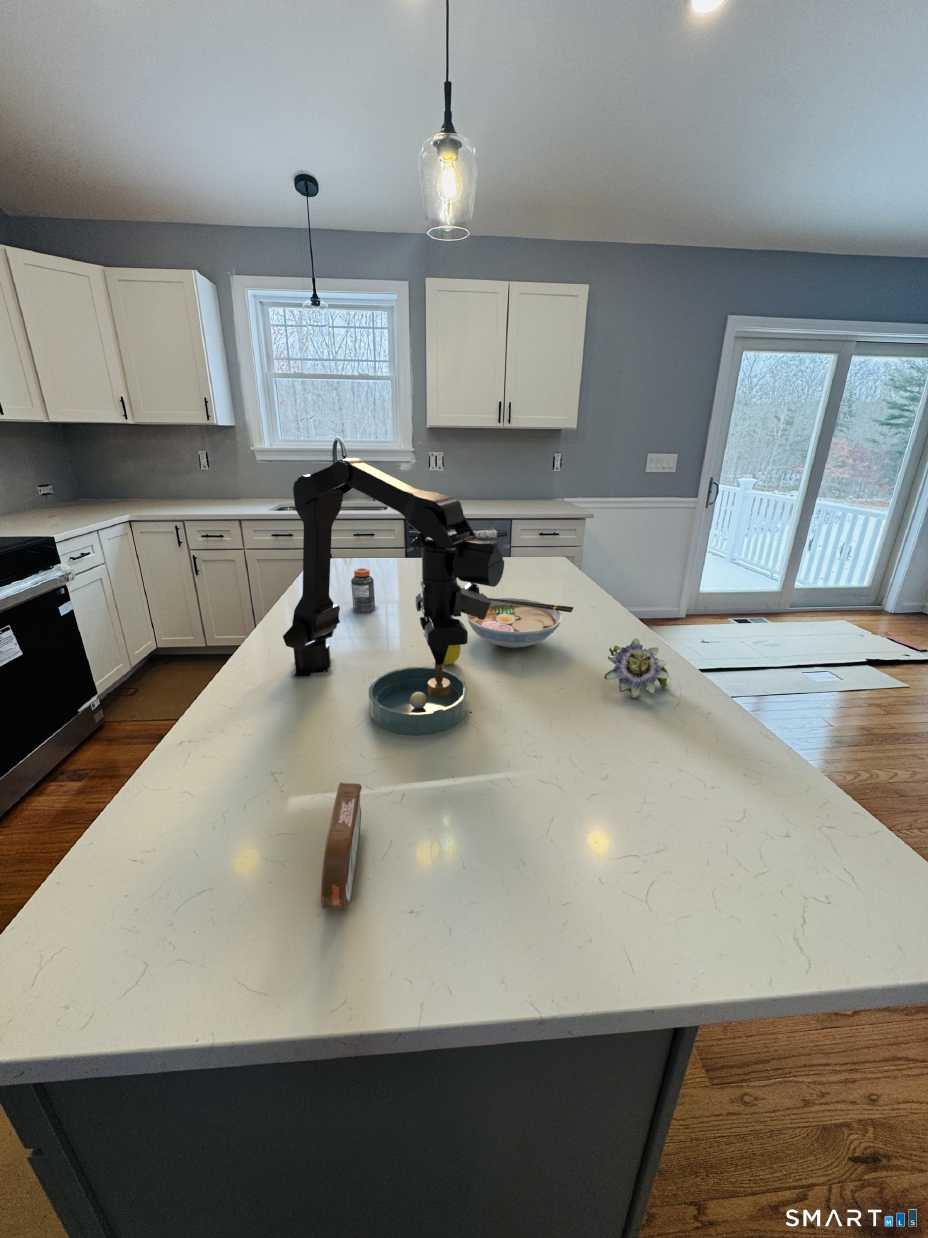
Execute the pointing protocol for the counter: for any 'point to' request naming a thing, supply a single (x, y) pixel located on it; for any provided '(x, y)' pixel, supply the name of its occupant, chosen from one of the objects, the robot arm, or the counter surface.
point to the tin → (341, 847)
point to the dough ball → (418, 700)
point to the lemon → (452, 654)
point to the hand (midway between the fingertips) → (439, 662)
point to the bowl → (401, 717)
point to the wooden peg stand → (438, 684)
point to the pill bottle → (363, 590)
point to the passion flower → (637, 668)
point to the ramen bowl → (517, 622)
